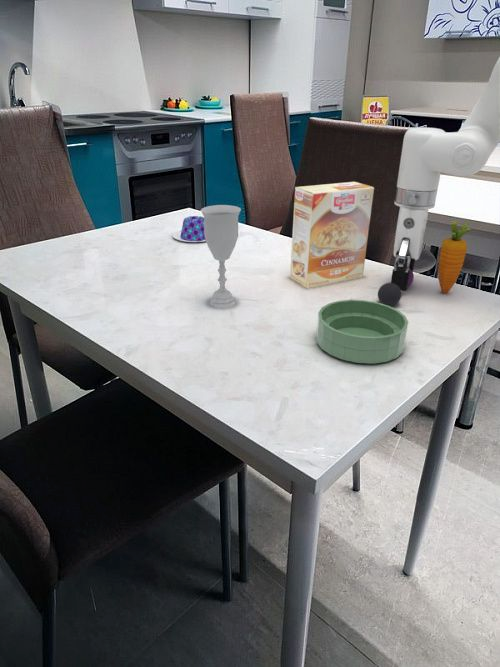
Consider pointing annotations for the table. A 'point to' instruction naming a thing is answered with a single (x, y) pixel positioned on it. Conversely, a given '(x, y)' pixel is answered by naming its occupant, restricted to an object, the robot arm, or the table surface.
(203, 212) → the chalice
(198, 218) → the pudding
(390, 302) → the charcoal ball
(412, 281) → the plum ball
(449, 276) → the carrot
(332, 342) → the bowl
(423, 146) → the robot arm
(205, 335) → the table surface
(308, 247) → the coffeecake box
